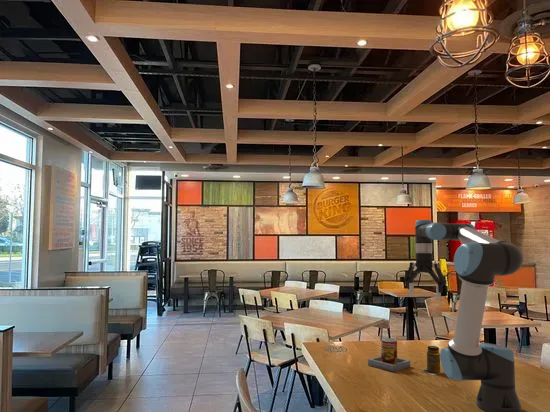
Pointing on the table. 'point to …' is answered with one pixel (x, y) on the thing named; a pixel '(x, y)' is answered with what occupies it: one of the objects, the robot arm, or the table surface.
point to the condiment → (433, 361)
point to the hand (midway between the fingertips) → (424, 298)
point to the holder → (389, 367)
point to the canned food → (389, 350)
